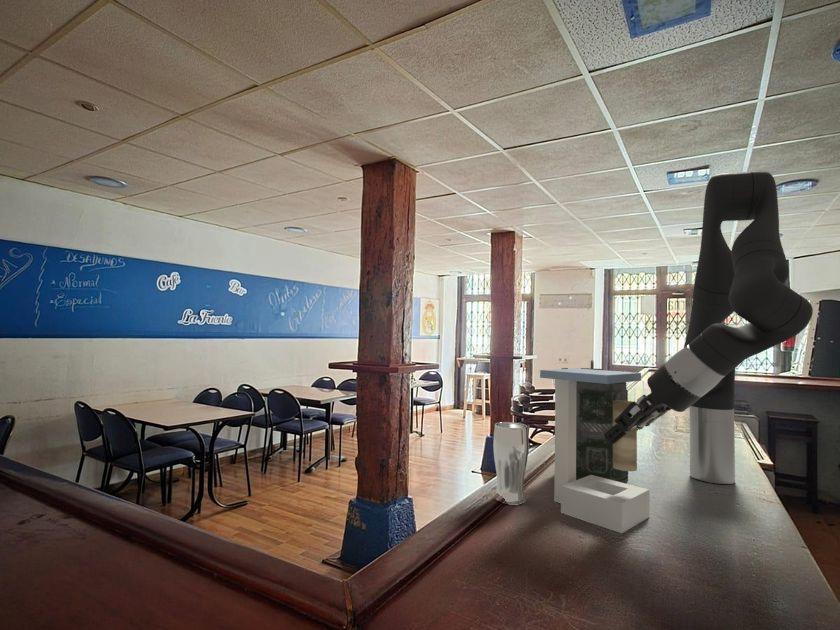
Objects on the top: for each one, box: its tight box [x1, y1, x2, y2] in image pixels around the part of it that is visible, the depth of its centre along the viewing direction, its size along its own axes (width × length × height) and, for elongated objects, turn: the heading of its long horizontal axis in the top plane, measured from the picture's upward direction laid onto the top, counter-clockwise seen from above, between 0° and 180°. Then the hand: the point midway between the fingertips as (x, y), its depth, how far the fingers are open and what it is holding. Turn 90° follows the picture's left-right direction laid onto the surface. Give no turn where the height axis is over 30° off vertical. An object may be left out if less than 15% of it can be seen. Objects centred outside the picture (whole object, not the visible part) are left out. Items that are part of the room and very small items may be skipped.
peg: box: [613, 400, 638, 472], centre depth 83 cm, size 4×4×12 cm
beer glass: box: [492, 421, 529, 504], centre depth 92 cm, size 7×7×15 cm
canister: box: [561, 359, 629, 484], centre depth 107 cm, size 16×16×28 cm
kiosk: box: [539, 368, 651, 534], centre depth 87 cm, size 14×16×26 cm
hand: (614, 438), depth 84 cm, fingers closed on peg, 4 cm apart
